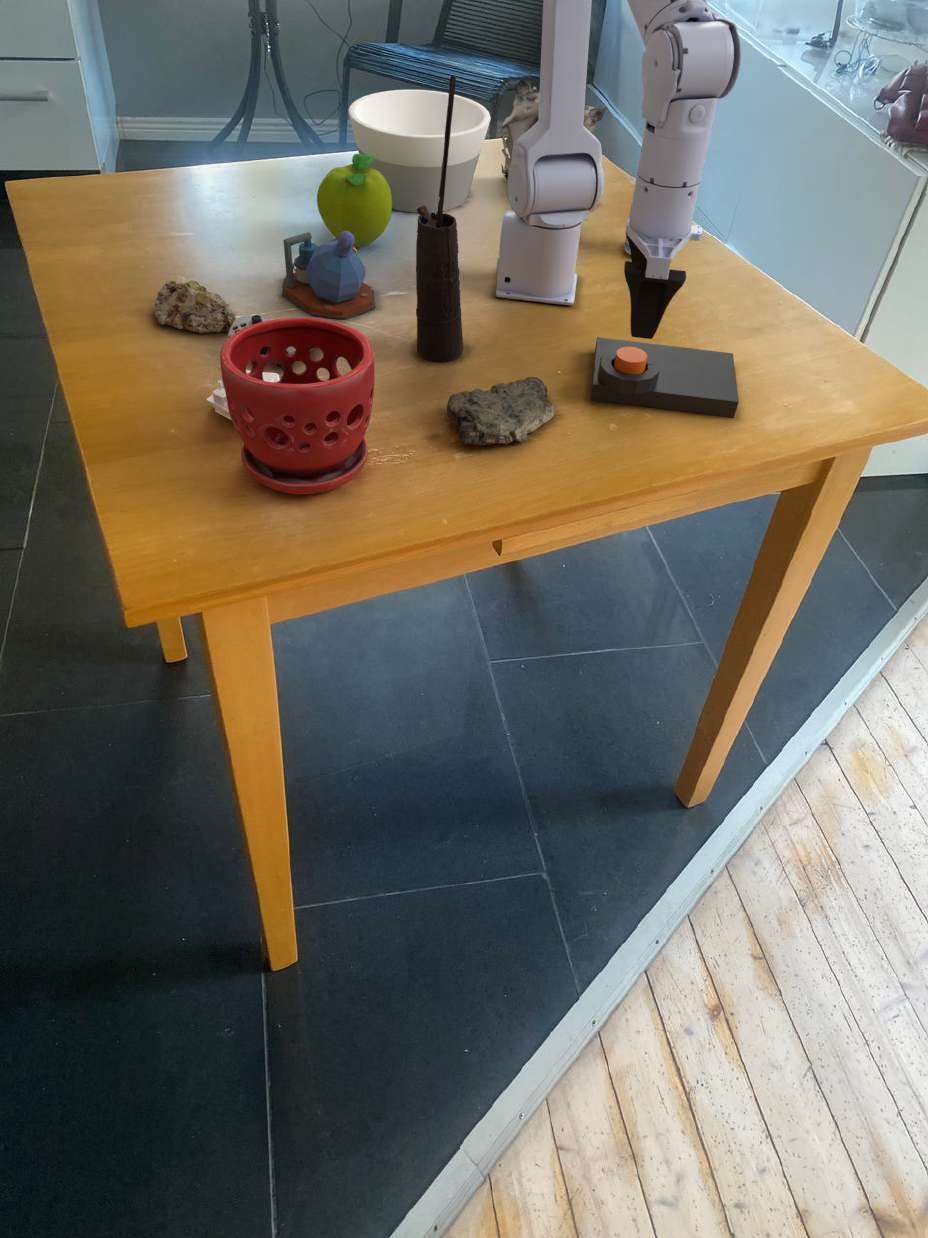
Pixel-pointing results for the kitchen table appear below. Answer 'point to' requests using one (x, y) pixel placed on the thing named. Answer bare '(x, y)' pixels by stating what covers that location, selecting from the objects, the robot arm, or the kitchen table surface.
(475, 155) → the bowl
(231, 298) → the kitchen table surface
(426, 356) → the butter churn
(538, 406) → the stone
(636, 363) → the button
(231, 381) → the plant pot
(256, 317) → the game controller
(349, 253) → the model
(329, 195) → the fruit
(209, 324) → the mineral rock
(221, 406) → the toy car
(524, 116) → the jagged grey brown piece
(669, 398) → the grey push button box
